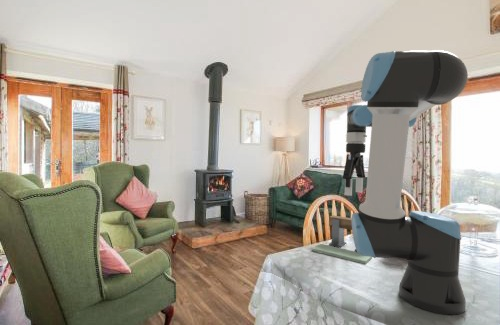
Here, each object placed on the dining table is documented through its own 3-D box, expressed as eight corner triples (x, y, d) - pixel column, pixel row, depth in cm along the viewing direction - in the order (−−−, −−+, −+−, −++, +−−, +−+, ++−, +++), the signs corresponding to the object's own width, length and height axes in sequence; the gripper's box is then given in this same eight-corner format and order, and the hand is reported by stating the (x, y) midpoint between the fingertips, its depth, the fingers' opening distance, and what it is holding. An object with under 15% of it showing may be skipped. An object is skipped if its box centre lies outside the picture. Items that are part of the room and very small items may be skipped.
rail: (372, 233, 113) (372, 223, 113) (328, 225, 124) (329, 216, 124) (375, 231, 117) (375, 222, 116) (332, 224, 128) (332, 215, 127)
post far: (340, 247, 120) (341, 220, 119) (329, 245, 123) (330, 218, 122) (346, 244, 125) (347, 218, 125) (335, 241, 128) (336, 216, 128)
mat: (366, 264, 102) (366, 261, 102) (311, 250, 115) (312, 248, 115) (372, 258, 109) (372, 255, 109) (320, 246, 122) (320, 243, 122)
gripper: (355, 141, 107) (352, 197, 108) (373, 144, 127) (371, 192, 128) (335, 141, 112) (333, 195, 113) (356, 144, 132) (354, 190, 132)
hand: (353, 193), depth 120 cm, fingers open, 13 cm apart
